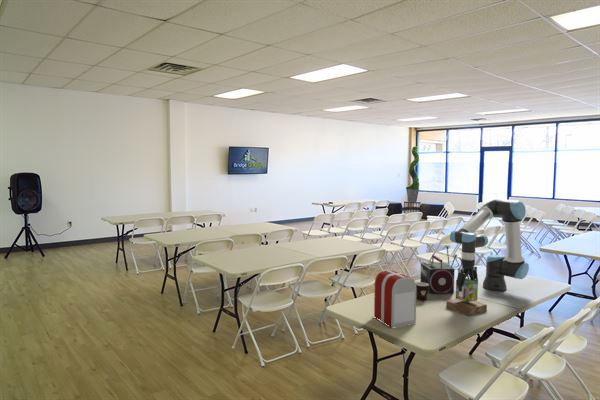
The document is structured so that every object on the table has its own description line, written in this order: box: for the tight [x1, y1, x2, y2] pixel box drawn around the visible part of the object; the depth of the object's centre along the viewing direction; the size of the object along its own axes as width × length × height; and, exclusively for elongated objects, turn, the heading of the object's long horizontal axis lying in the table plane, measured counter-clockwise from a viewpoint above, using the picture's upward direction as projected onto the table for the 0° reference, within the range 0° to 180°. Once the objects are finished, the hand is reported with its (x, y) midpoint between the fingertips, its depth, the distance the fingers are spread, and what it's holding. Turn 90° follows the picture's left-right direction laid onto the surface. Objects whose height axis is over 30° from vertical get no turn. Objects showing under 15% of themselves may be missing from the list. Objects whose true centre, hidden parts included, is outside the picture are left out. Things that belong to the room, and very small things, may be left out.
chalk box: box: [455, 274, 479, 302], centre depth 237 cm, size 9×9×15 cm
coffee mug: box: [415, 281, 429, 302], centre depth 256 cm, size 12×9×10 cm
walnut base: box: [445, 298, 488, 317], centre depth 238 cm, size 16×16×4 cm
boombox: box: [419, 245, 458, 295], centre depth 274 cm, size 18×21×30 cm
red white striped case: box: [373, 269, 417, 329], centre depth 220 cm, size 16×18×27 cm
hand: (466, 295), depth 238 cm, fingers closed on chalk box, 9 cm apart
